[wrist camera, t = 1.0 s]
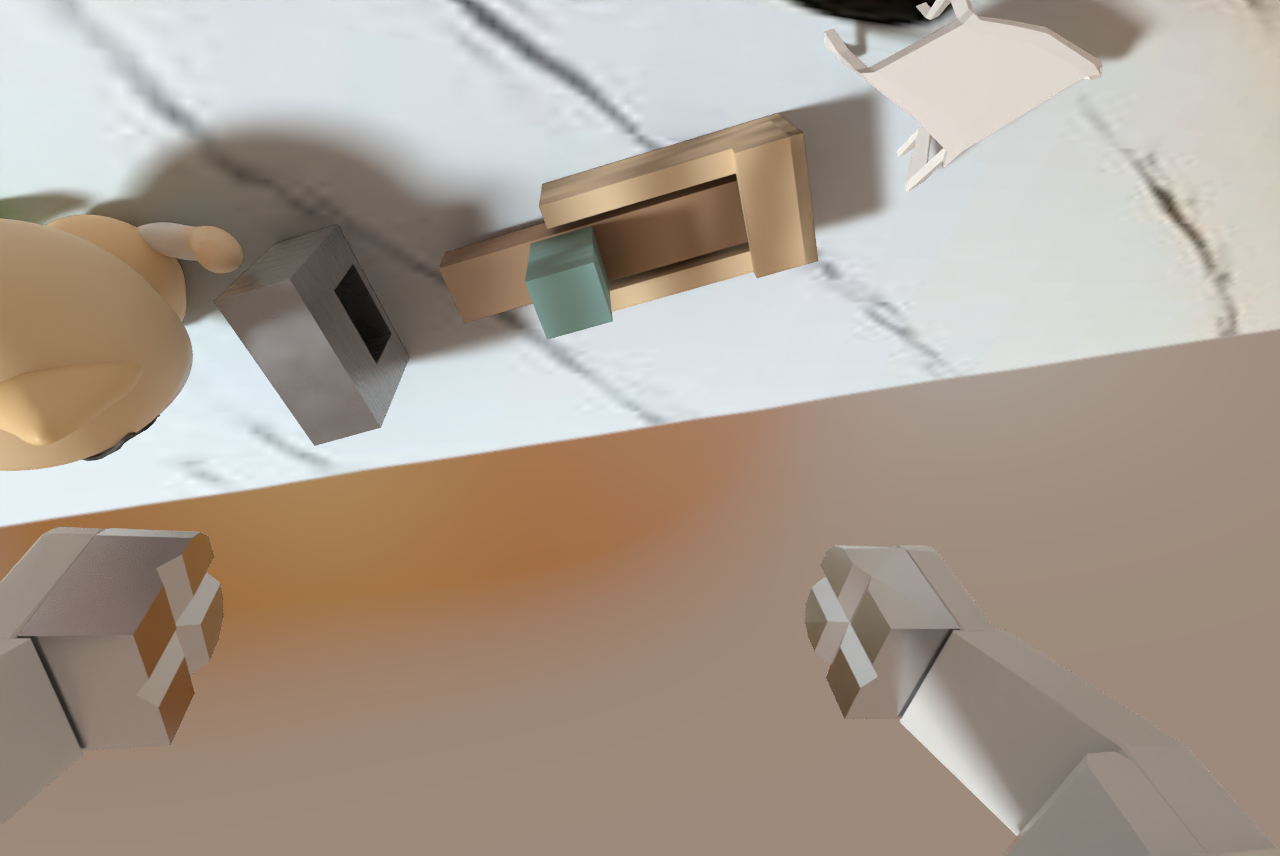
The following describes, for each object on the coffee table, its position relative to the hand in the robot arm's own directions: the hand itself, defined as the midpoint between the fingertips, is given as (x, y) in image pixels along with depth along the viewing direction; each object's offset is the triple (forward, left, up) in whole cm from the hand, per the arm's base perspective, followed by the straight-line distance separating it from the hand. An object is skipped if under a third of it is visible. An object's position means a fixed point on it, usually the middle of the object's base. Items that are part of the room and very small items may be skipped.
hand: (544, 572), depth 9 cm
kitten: (+24, 0, -29) cm, 37 cm away
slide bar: (0, +5, -27) cm, 28 cm away
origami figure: (-18, +3, -29) cm, 34 cm away
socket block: (+14, +5, -28) cm, 32 cm away
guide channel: (-4, +5, -28) cm, 29 cm away
